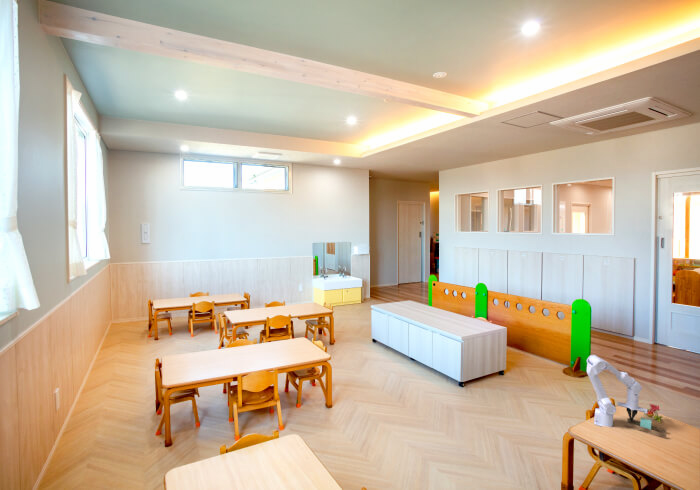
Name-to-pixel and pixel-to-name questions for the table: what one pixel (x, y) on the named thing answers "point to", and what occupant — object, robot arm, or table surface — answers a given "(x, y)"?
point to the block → (645, 423)
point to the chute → (653, 431)
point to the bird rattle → (651, 414)
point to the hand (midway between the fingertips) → (631, 420)
